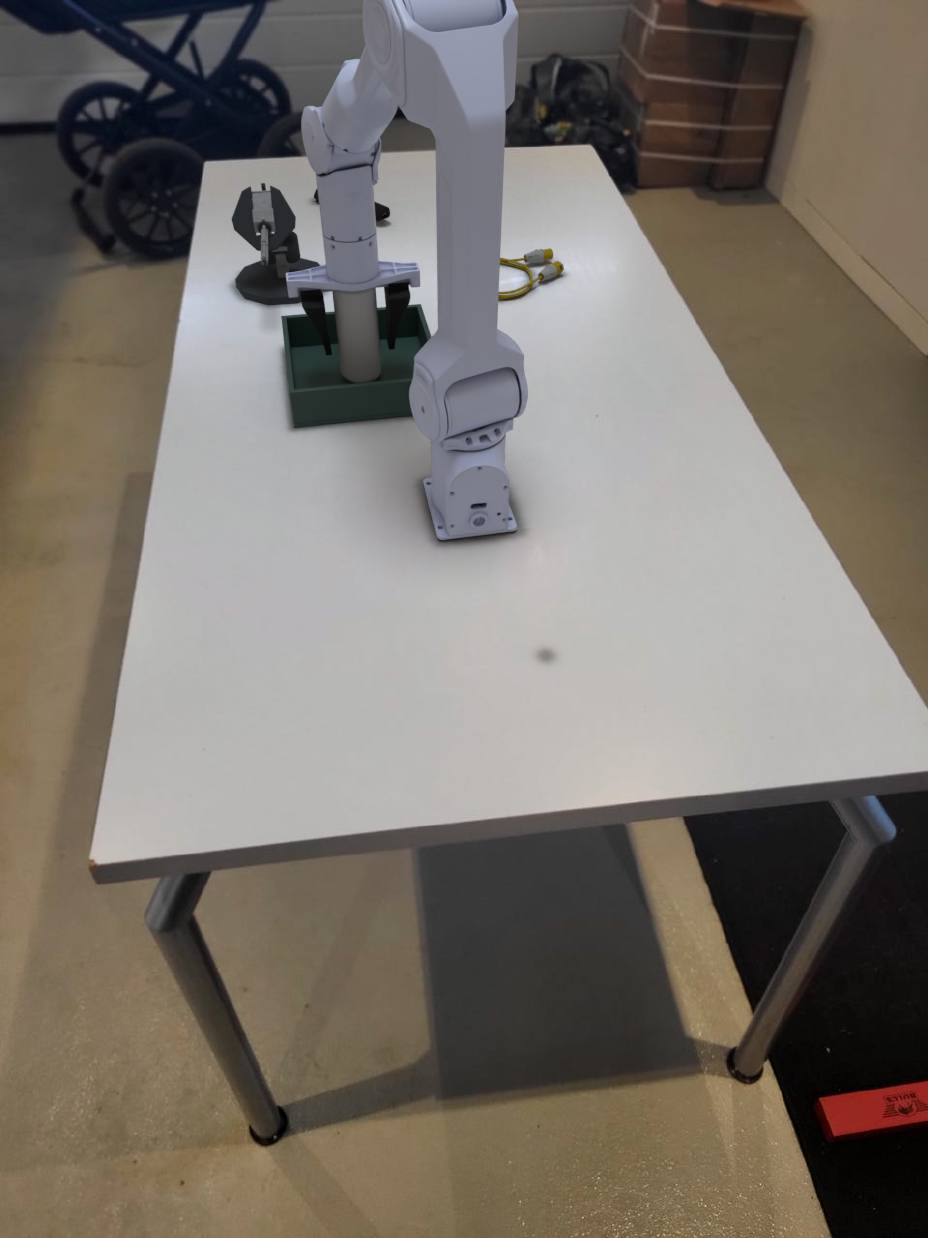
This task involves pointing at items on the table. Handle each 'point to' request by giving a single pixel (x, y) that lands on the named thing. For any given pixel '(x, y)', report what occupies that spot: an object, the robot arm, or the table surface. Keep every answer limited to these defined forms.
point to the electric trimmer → (380, 210)
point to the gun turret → (268, 245)
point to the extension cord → (530, 257)
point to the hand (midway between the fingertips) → (359, 347)
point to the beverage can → (358, 334)
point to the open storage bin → (323, 387)
